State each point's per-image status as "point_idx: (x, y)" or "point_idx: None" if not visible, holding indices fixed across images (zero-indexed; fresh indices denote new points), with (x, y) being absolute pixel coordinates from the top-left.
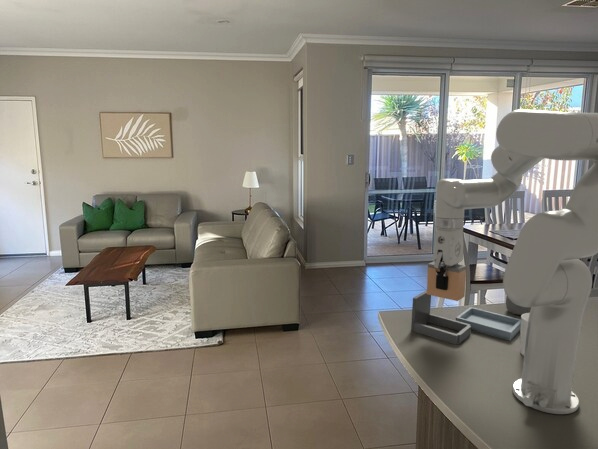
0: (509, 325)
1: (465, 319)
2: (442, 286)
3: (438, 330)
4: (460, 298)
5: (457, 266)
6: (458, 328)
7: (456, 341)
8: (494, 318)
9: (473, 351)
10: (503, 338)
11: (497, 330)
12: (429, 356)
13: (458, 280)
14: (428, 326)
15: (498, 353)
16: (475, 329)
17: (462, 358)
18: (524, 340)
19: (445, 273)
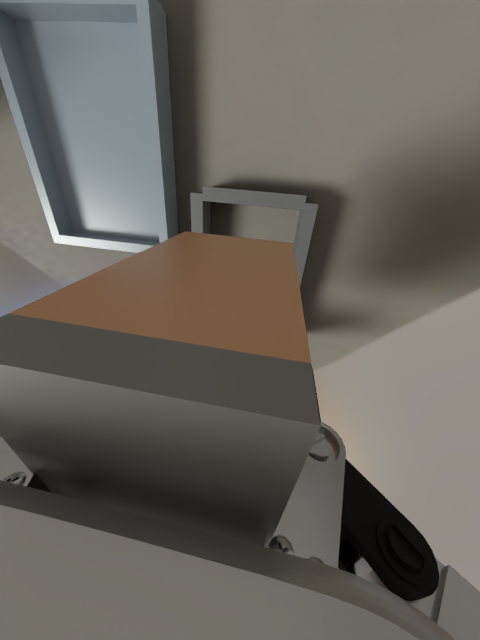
0: (48, 63)
1: (161, 223)
2: (312, 369)
3: (302, 271)
4: (246, 239)
5: (127, 453)
6: (208, 231)
7: (314, 203)
8: (46, 145)
9: (342, 127)
10: (167, 49)
11: (157, 73)
12: (440, 246)
13: (299, 301)
14: None
15: (314, 15)
16: (173, 180)
17: (420, 144)
18: None
19: (344, 465)
